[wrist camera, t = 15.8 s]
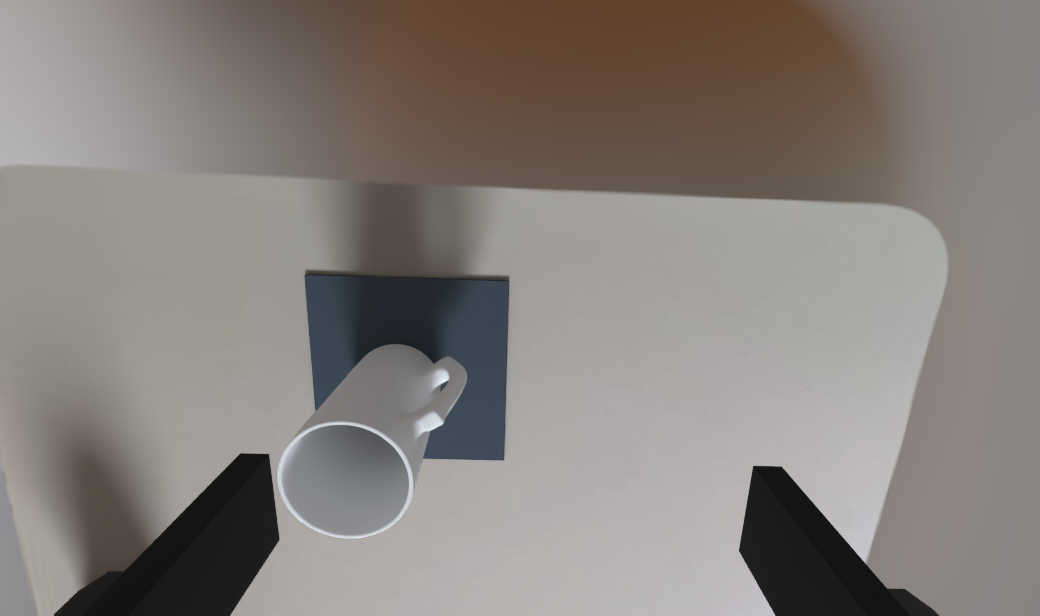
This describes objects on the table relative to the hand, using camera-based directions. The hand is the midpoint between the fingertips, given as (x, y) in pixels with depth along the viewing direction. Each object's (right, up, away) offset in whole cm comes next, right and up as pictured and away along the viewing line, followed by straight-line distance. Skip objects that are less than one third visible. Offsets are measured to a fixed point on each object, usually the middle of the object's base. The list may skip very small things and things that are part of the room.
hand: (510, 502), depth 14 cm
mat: (-8, +1, +23) cm, 24 cm away
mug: (-7, +1, +23) cm, 24 cm away
